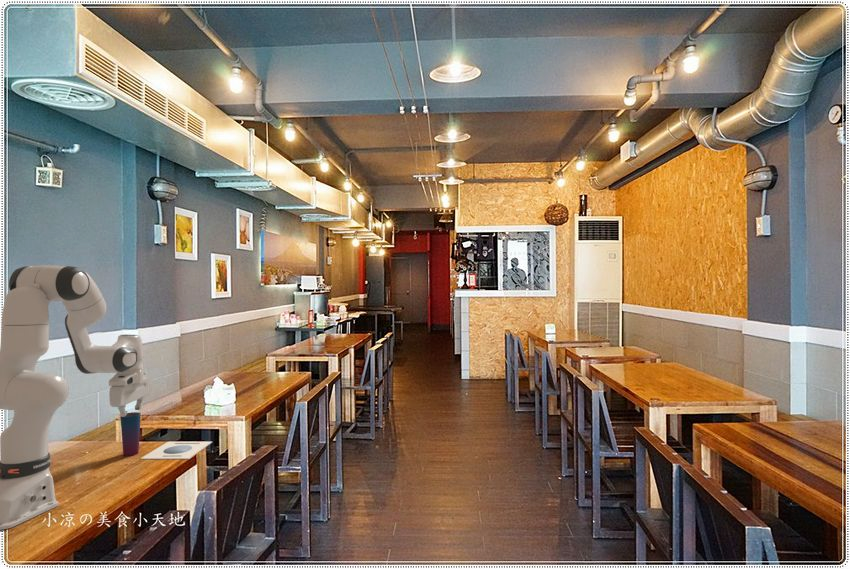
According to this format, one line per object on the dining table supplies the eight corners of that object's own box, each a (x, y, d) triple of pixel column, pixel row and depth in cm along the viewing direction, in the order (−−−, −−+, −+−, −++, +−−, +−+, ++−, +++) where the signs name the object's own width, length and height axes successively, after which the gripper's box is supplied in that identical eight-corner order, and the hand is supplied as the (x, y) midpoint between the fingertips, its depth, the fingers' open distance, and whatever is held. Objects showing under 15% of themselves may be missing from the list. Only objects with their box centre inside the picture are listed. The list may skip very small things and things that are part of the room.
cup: (121, 452, 198) (121, 413, 198) (141, 450, 200) (141, 411, 200) (119, 458, 191) (119, 417, 191) (140, 455, 194) (140, 415, 194)
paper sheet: (189, 459, 190) (189, 458, 190) (140, 459, 190) (140, 458, 190) (212, 442, 210) (212, 441, 210) (168, 442, 210) (168, 441, 210)
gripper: (137, 371, 206) (138, 405, 207) (105, 382, 186) (106, 420, 186) (153, 371, 206) (154, 405, 207) (122, 382, 186) (123, 420, 186)
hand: (131, 412), depth 196 cm, fingers open, 8 cm apart
